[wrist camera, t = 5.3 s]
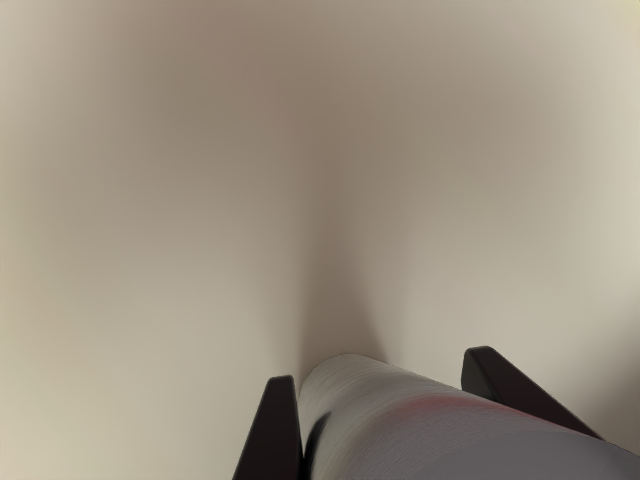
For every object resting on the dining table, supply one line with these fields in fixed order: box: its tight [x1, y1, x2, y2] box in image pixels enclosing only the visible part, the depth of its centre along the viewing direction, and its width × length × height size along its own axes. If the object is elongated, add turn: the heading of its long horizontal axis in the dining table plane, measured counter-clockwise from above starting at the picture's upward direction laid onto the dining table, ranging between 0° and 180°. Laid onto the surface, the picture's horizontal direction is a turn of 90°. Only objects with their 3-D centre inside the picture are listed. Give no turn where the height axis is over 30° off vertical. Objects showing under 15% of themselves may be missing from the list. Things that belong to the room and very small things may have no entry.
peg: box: [298, 354, 640, 480], centre depth 10 cm, size 3×3×12 cm
